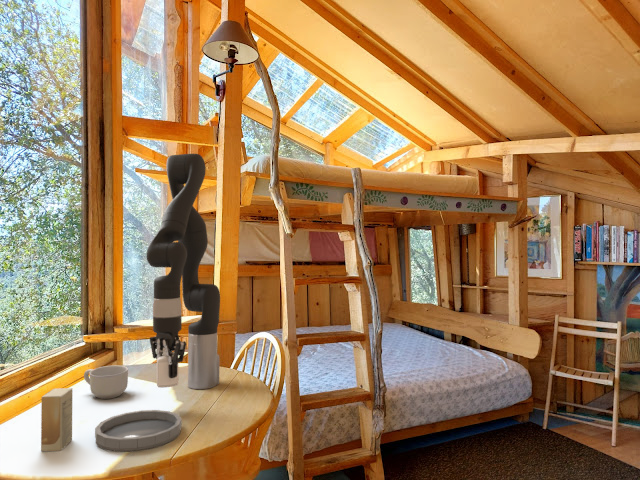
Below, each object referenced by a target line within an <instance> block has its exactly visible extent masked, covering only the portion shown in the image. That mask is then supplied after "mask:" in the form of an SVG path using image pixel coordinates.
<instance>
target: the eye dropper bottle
mask: <svg viewBox="0 0 640 480" xmlns="http://www.w3.org/2000/svg"><path fill="white" fill-rule="evenodd" d="M172 352H173V351H170V353H172ZM173 357H174V355H172V360H173ZM177 385H179V363H178V364H177V377H175V378H169V361H168V357H167V356H166V353H165V348H163V356H161V357H159V358H158V359H156V386H157V387H158V388H160V389H161V388H170V387H171V388H172V387H175V386H177Z"/></svg>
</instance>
